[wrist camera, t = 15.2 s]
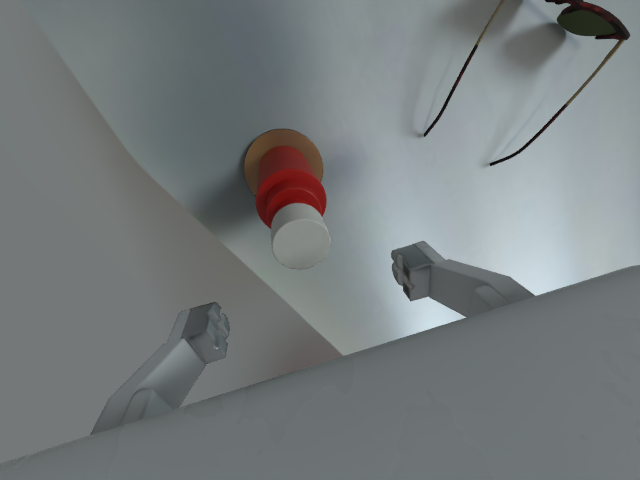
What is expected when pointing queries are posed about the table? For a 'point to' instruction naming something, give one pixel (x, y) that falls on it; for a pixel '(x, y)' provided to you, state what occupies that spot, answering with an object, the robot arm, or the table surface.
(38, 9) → the table surface
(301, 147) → the coaster
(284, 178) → the sauce bottle
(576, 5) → the sunglasses
